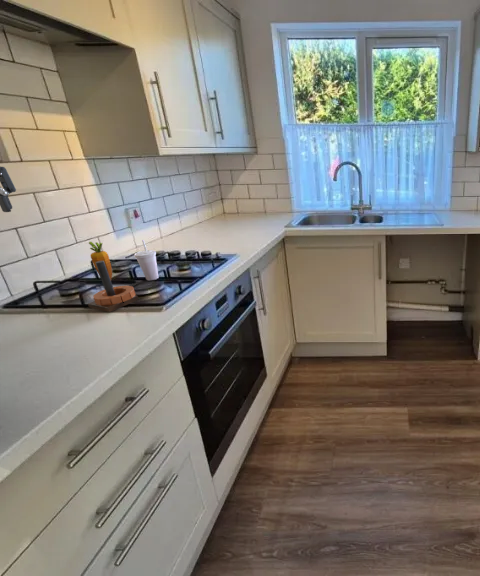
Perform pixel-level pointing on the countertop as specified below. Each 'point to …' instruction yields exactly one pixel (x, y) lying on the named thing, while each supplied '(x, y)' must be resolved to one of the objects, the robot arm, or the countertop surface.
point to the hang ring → (121, 295)
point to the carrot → (100, 257)
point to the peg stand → (108, 291)
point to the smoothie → (147, 263)
